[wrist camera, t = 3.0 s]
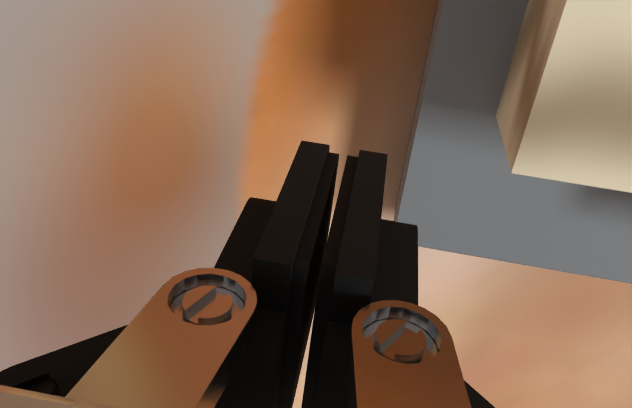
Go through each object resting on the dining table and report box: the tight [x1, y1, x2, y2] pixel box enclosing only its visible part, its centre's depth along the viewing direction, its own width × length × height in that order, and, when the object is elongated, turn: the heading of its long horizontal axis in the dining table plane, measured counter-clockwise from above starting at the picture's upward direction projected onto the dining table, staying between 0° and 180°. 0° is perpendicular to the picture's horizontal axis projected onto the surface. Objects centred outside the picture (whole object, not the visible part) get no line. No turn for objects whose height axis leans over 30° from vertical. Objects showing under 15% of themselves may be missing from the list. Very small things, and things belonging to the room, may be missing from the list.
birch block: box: [496, 0, 632, 193], centre depth 20 cm, size 6×6×5 cm
